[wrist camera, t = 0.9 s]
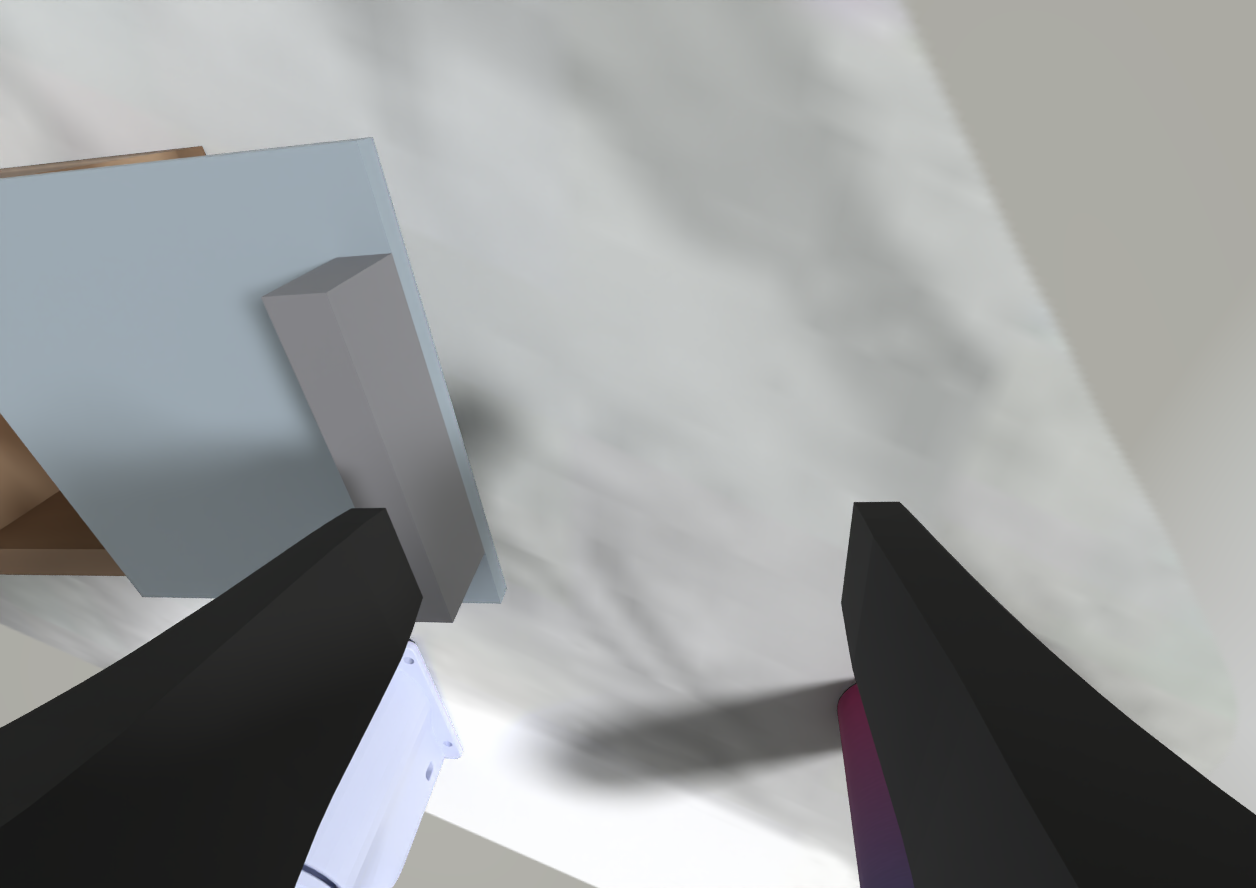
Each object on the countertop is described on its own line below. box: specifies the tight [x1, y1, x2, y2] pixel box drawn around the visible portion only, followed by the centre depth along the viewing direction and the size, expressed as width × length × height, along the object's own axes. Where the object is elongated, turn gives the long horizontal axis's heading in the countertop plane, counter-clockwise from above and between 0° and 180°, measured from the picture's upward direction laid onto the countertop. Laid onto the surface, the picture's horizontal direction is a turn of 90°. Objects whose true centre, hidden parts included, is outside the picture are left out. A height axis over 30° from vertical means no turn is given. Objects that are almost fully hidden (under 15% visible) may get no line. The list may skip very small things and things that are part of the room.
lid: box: [0, 137, 507, 623], centre depth 14 cm, size 12×12×3 cm
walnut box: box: [0, 146, 206, 576], centre depth 19 cm, size 12×12×5 cm
